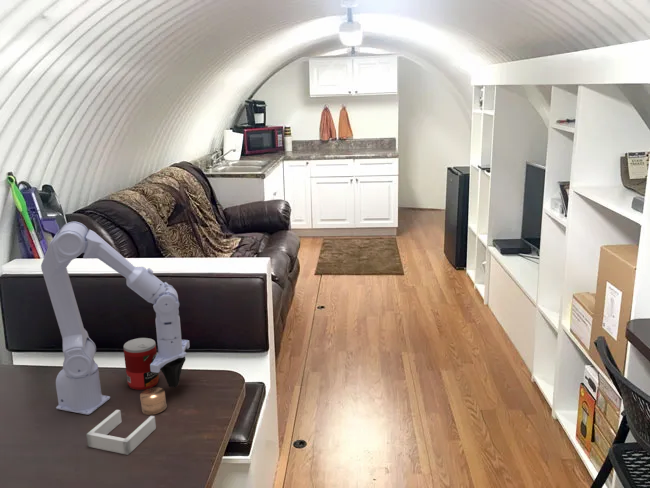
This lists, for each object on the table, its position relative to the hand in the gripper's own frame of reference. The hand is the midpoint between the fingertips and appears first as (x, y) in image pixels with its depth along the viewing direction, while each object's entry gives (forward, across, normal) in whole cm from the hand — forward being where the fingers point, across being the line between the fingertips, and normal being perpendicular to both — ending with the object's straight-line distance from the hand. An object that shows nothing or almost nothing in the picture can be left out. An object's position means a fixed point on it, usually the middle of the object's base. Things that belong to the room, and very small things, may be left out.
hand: (173, 385), depth 142 cm
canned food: (+2, +2, +10) cm, 10 cm away
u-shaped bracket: (+2, -20, 0) cm, 20 cm away
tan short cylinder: (+2, -8, 0) cm, 9 cm away
